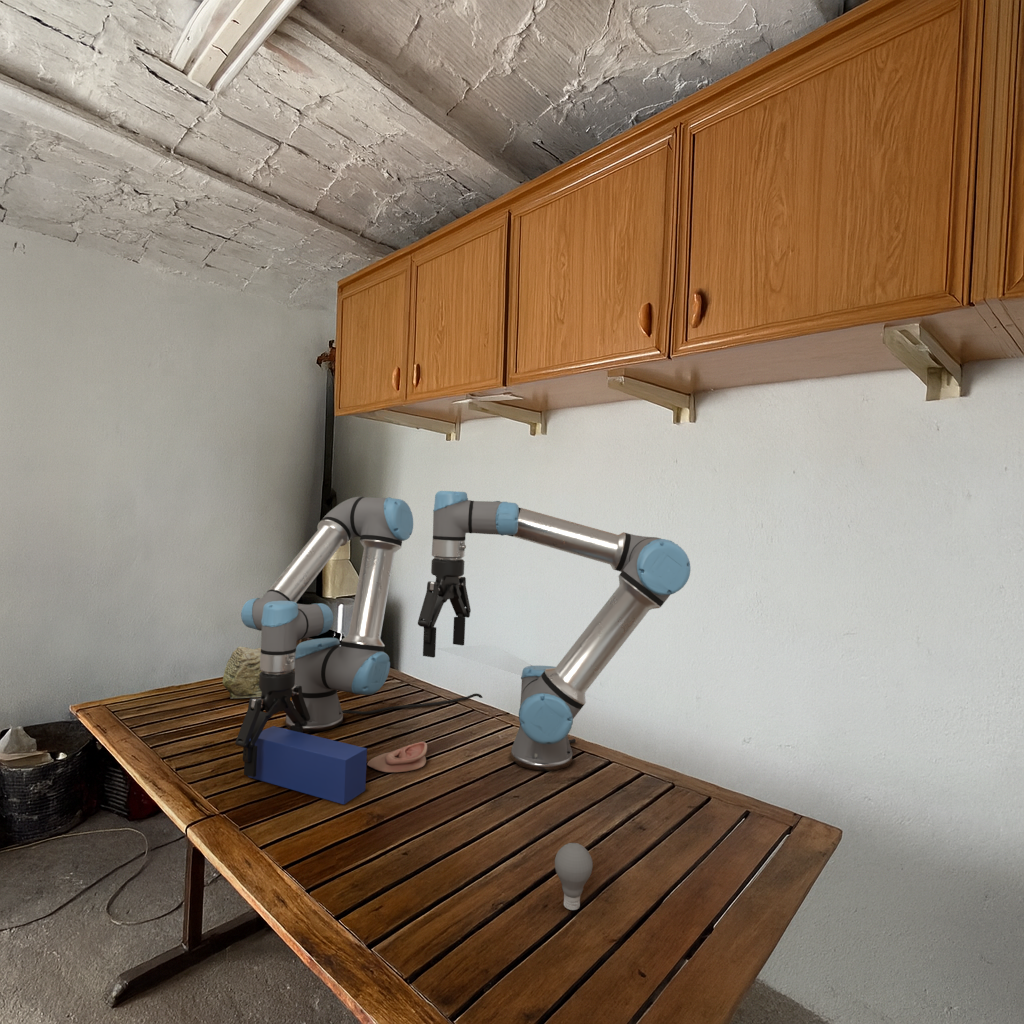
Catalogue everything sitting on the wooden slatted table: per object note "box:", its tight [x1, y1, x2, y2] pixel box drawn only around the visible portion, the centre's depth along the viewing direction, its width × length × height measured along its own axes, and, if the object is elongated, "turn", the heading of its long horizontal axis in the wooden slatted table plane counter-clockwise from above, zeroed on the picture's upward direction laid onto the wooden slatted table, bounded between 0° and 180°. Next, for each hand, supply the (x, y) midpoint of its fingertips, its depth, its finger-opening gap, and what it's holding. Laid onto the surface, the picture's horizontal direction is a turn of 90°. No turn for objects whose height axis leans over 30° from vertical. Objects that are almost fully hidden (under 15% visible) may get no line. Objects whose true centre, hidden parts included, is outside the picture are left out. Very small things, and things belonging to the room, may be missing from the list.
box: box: [247, 725, 368, 805], centre depth 139 cm, size 27×7×9 cm, turn 66°
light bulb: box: [554, 842, 594, 911], centre depth 100 cm, size 6×6×10 cm
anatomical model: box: [366, 741, 428, 773], centre depth 152 cm, size 13×4×12 cm
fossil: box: [222, 646, 262, 699], centre depth 198 cm, size 9×18×15 cm, turn 132°
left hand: (273, 764), depth 143 cm, fingers open, 13 cm apart
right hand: (444, 650), depth 146 cm, fingers open, 13 cm apart
